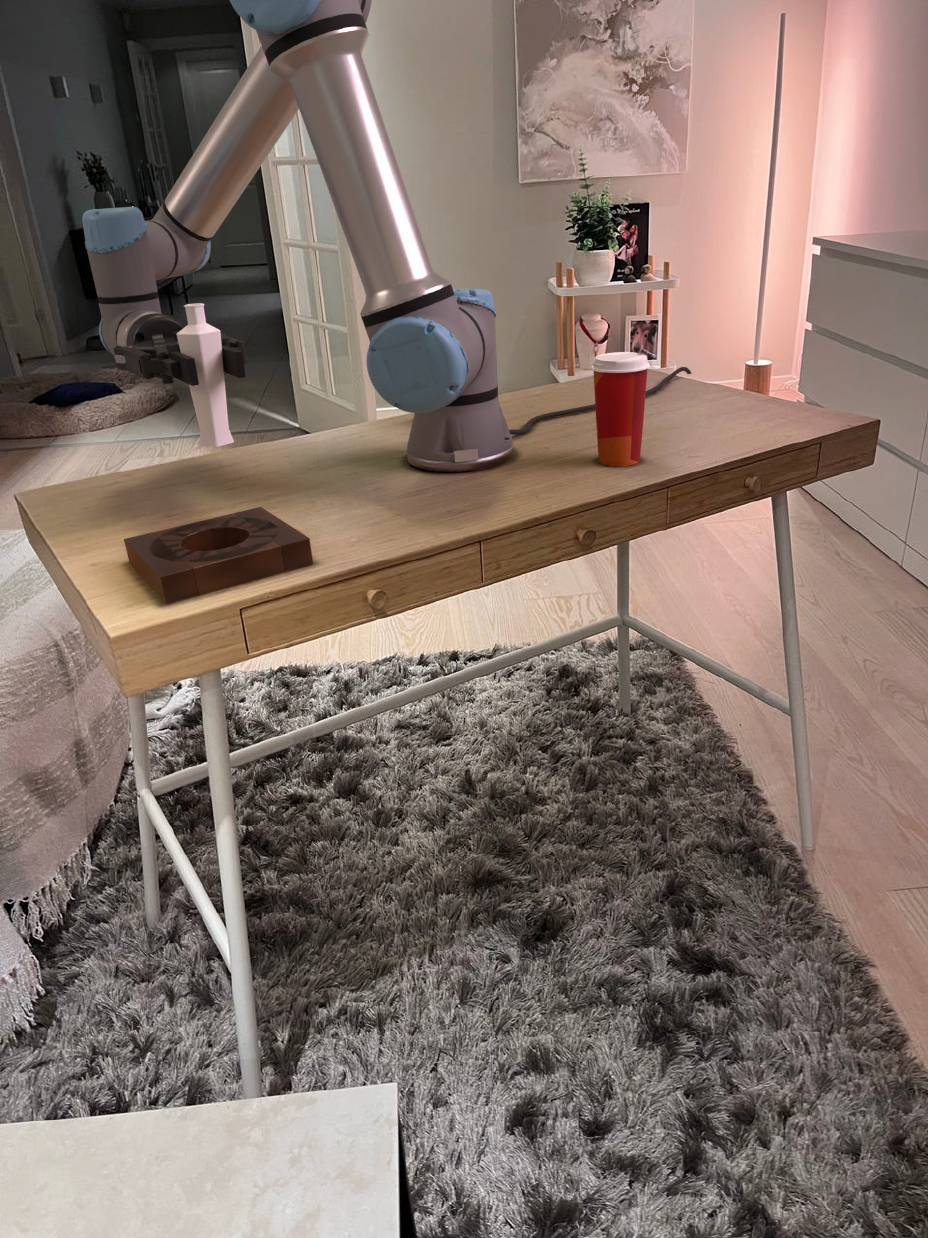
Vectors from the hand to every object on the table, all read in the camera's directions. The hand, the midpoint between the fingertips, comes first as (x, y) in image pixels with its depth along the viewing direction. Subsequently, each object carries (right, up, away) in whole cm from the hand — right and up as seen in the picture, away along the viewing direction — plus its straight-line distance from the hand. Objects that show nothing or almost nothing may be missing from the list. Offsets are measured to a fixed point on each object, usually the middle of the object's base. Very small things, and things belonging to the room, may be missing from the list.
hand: (217, 368), depth 99 cm
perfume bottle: (-2, -7, +8) cm, 11 cm away
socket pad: (-1, -20, +4) cm, 21 cm away
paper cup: (+47, -5, +30) cm, 56 cm away
